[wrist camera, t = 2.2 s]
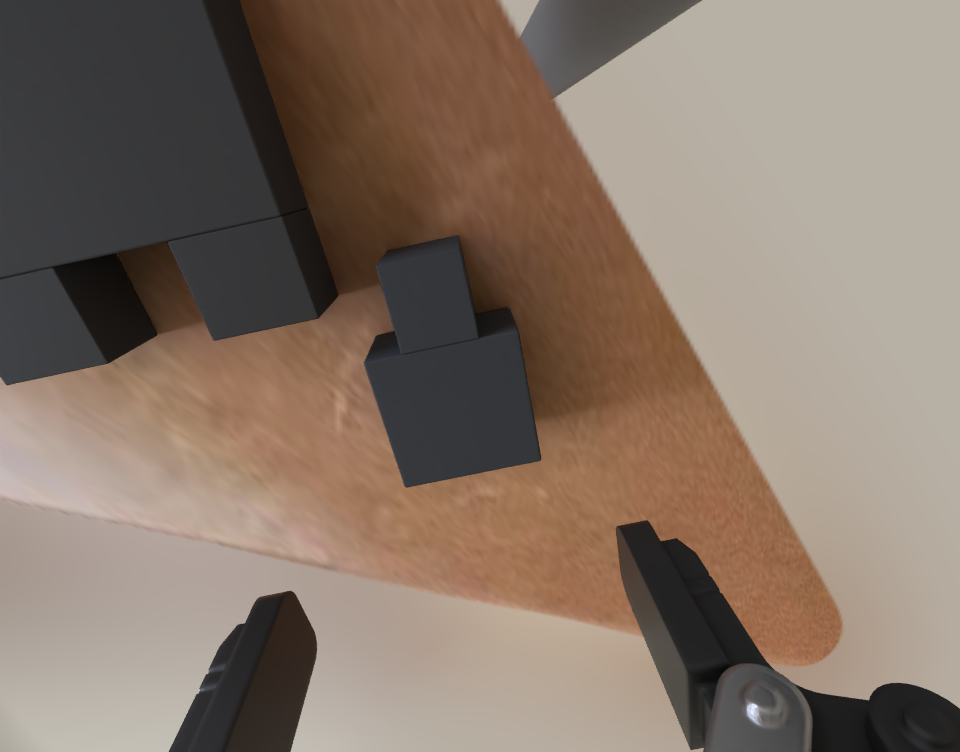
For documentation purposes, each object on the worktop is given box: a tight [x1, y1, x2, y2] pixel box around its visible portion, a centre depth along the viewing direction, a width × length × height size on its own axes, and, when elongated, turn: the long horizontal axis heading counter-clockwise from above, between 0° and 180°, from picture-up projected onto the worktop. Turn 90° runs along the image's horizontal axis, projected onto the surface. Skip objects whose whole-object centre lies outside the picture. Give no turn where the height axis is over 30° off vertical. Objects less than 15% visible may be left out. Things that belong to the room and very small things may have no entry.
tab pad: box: [364, 235, 541, 487], centre depth 20 cm, size 9×6×3 cm, turn 11°
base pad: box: [0, 0, 338, 385], centre depth 16 cm, size 12×12×3 cm
